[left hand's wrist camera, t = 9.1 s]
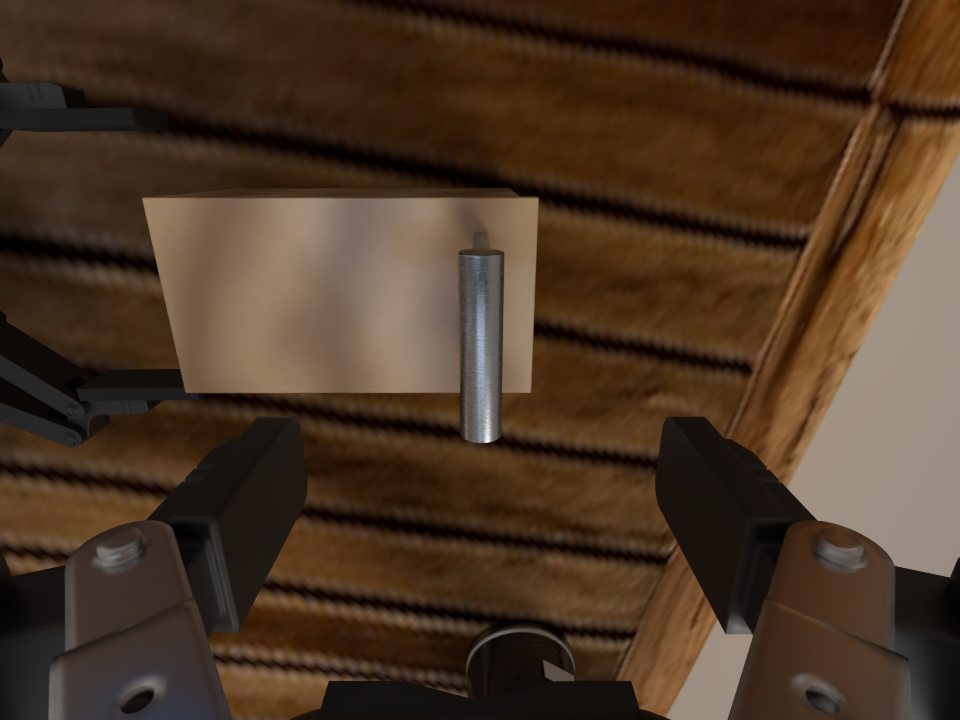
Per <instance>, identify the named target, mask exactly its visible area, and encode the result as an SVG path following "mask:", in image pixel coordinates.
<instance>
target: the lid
mask: <svg viewBox="0 0 960 720" xmlns="http://www.w3.org/2000/svg"><path fill="white" fill-rule="evenodd" d="M142 200H143V204H144V209H145V213H146V218H147V222H148V227H149V231H150V236H151V240H152V245H153V249H154V254H155V258H156V262H157V267H158V271H159V276H160V280H161V285H162V289H163V294H164V298H165V303H166V307H167V312H168V316H169V321H170V325H171V330H172V334H173V339H174V343H175V347H176V352H177V356H178V361H179V365H180V370H181V374H182V379H183V383H184V388H185V392H186V393H460V433H461V436H462V437H463V438H464V439H465V440H467V441H469V442H473V443H489V442H493V441H495V440H497V439H498V438H499V437H500V436H501V428H502V393H531V380H532V354H533V328H534V302H535V277H536V251H537V225H538V200H539V199H538V198H537V197H144V198H142Z"/></svg>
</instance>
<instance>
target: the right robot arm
mask: <svg viewBox="0 0 960 720" xmlns="http://www.w3.org/2000/svg"><path fill="white" fill-rule="evenodd" d="M2 67H3V64H2V59H1V58H0V148H1V146H2V145H3V144H4V142H5V141H6V140H7V138H8V137H9V136H10V134H11V133H12V132H13V130H22V131H35V132H63V131H125V130H170V129H169V124H168V120H167V115H166V113H162V112H156V111H150V110H144V109H138V108H132V107H130V108H88V107H87V103H86V99H85V95H84V91H82V90H80V89H77V88H75V87H72V86H67V85H62V84H57V83H52V82H14V83H11V82H9V81H8V80H7V79H6V77H5V76H4V75H3V73H2ZM205 394H206V393H186V392H185V388H184V383H183V379H182V374H181V370H180V369H152V370H109V371H107V372H105V373H104V374H102V375H100V376H98V377H94V376H93V375H91V374H90V373H88V372H86V371H85V370H83V369H81V368H80V367H78V366H77V365H75V364H73V363H72V362H70V361H69V360H67V359H65V358H64V357H62V356H61V355H59V354H57V353H56V352H54V351H53V350H51V349H49V348H48V347H46V346H45V345H43V344H41V343H40V342H38V341H36V340H35V339H33V338H32V337H30V336H28V335H27V334H25V333H24V332H22V331H20V330H19V329H17V328H16V327H14V326H12V325H11V324H9V323H8V322H6V315H5V314H4V313H3V312H1V311H0V422H3V423H6V424H9V425H11V426H14V427H17V428H19V429H22V430H25V431H27V432H30V433H33V434H36V435H38V436H41V437H44V438H46V439H49V440H52V441H55V442H57V443H60V444H63V445H65V446H68V447H72V448H74V447H78V446H79V445H81V444H82V443H84V442H85V441H87V440H88V439H90V438H91V437H93V436H94V435H95V434H97V433H98V432H100V431H101V430H102V429H104V428H105V427H107V426H108V425H109V423H110V418H109V416H108V415H123V414H124V415H130V414H131V415H138V414H143V413H145V412H148V411H149V410H151V409H152V408H153V407H155V406H156V405H157V404H159V403H160V402H162V401H163V400H199V399H200V398H202V397H203V396H204V395H205Z"/></svg>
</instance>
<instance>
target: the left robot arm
mask: <svg viewBox="0 0 960 720" xmlns="http://www.w3.org/2000/svg"><path fill="white" fill-rule="evenodd" d="M655 490H656V497H657V502H658V505H659V508H660V510H661V512H662V513H663V515H664V517H665V519H666V521H667V523H668V525H669V527H670V529H671V531H672V533H673V534H674V536H675V538H676V540H677V542H678V544H679V546H680V548H681V550H682V552H683V554H684V555H685V557H686V559H687V561H688V563H689V565H690V567H691V569H692V571H693V573H694V575H695V577H696V578H697V580H698V582H699V584H700V586H701V588H702V590H703V592H704V594H705V596H706V598H707V599H708V601H709V603H710V605H711V607H712V609H713V611H714V613H715V615H716V617H717V619H718V620H719V622H720V624H721V626H722V628H723V630H724V632H725V634H753V638H752V642H751V645H750V648H749V652H748V655H747V658H746V661H745V665H744V668H743V671H742V674H741V678H740V681H739V684H738V687H737V691H736V694H735V697H734V701H733V704H732V707H731V710H730V714H729V717H728V720H960V557H959V558H958V560H957V562H956V565H955V567H954V569H953V572H952V574H951V577H945V576H940V575H935V574H930V573H926V572H921V571H916V570H911V569H906V568H902V567H897V566H894V563H893V561H892V559H891V558H890V557H889V555H888V554H887V553H886V552H885V551H884V550H883V549H882V548H881V547H880V546H879V545H877V544H876V543H875V542H873V541H872V540H870V539H869V538H867V537H865V536H863V535H862V534H860V533H858V532H856V531H853V530H851V529H849V528H846V527H843V526H840V525H837V524H833V523H829V522H824V521H817V520H816V518H815V517H814V516H813V515H812V514H811V513H810V512H809V511H808V510H807V509H806V508H805V507H804V506H803V505H802V504H801V503H800V502H799V501H798V500H797V498H796V497H795V496H794V495H793V494H792V493H791V492H790V491H789V490H788V489H787V488H786V487H785V486H784V485H783V484H782V483H779V482H778V478H777V477H776V476H775V475H774V474H773V473H772V472H771V471H770V470H767V467H766V466H765V465H764V464H763V463H762V462H761V461H760V459H759V458H758V457H757V456H756V455H755V454H754V453H753V452H752V451H750V450H748V449H746V448H745V447H743V446H741V445H740V444H738V443H736V442H734V441H733V440H731V439H724V438H723V437H722V436H721V434H720V433H719V432H718V431H717V430H716V429H715V428H714V427H713V425H712V424H711V423H710V422H709V421H708V420H707V419H706V418H705V417H667V418H666V420H665V422H664V425H663V429H662V436H661V443H660V450H659V457H658V464H657V471H656V479H655ZM306 494H307V473H306V466H305V459H304V452H303V445H302V437H301V430H300V425H299V421H298V419H297V418H296V417H295V416H259V417H257V418H256V419H255V420H254V421H253V423H252V424H251V425H250V426H249V427H248V428H247V429H246V430H245V432H244V433H243V434H242V435H241V436H240V437H239V438H232V439H231V440H229V441H227V442H225V443H224V444H222V445H220V446H219V447H217V448H215V449H214V450H212V451H211V452H210V453H209V454H208V455H207V456H206V457H205V458H204V459H203V460H202V461H201V462H200V463H199V464H198V465H197V469H194V470H193V471H192V472H191V473H190V474H189V475H188V476H187V477H186V478H185V482H181V483H180V484H179V486H178V487H177V488H176V489H175V490H174V491H173V492H172V493H171V494H170V495H169V496H168V497H167V498H166V499H165V500H164V501H163V503H162V504H161V505H160V506H159V507H158V508H157V509H156V510H155V511H154V512H153V513H152V514H151V515H150V516H149V517H148V519H147V520H144V521H136V522H131V523H127V524H123V525H120V526H117V527H114V528H111V529H109V530H107V531H104V532H102V533H100V534H98V535H97V536H95V537H93V538H91V539H90V540H88V541H87V542H85V543H84V544H83V545H81V546H80V547H79V548H78V549H77V550H76V551H75V552H74V553H73V554H72V555H71V557H70V558H69V559H68V561H67V563H66V565H64V566H60V567H55V568H50V569H45V570H40V571H36V572H31V573H26V574H21V575H16V576H12V575H11V572H10V570H9V567H8V565H7V562H6V560H5V558H4V556H3V555H2V554H0V720H232V717H231V714H230V710H229V707H228V704H227V701H226V697H225V694H224V691H223V687H222V684H221V681H220V678H219V674H218V671H217V668H216V665H215V661H214V658H213V655H212V652H211V648H210V645H209V642H208V638H209V636H210V635H211V633H212V632H239V630H240V628H241V626H242V624H243V622H244V620H245V618H246V616H247V614H248V613H249V611H250V609H251V607H252V605H253V603H254V601H255V599H256V597H257V595H258V593H259V591H260V589H261V587H262V585H263V583H264V582H265V580H266V578H267V576H268V574H269V572H270V570H271V568H272V566H273V564H274V562H275V560H276V558H277V556H278V554H279V553H280V551H281V549H282V547H283V545H284V543H285V541H286V539H287V537H288V535H289V533H290V531H291V529H292V527H293V525H294V524H295V522H296V520H297V518H298V516H299V514H300V512H301V510H302V508H303V506H304V503H305V499H306ZM466 677H467V697H462V696H459V695H455V694H451V693H447V692H443V691H439V690H436V689H432V688H428V687H424V686H420V685H417V684H413V683H409V682H405V681H329V682H328V686H327V689H326V693H325V696H324V700H323V703H322V706H321V709H318V710H314V711H310V712H308V713H305V714H302V715H300V716H297V717H294V718H292V719H290V720H670V719H668V718H666V717H663V716H660V715H658V714H655V713H652V712H650V711H646V710H642V709H639V706H638V703H637V700H636V696H635V693H634V689H633V686H632V682H631V681H576V677H575V666H574V660H573V655H572V651H571V648H570V646H569V644H568V642H567V641H566V640H565V639H564V638H563V637H562V636H561V635H560V634H559V633H558V632H556V631H555V630H553V629H551V628H549V627H547V626H544V625H541V624H537V623H532V622H510V623H505V624H501V625H498V626H495V627H493V628H491V629H489V630H487V631H485V632H484V633H482V634H481V635H480V636H479V637H477V638H476V640H475V641H474V642H473V643H472V645H471V646H470V648H469V650H468V653H467V658H466Z"/></svg>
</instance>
